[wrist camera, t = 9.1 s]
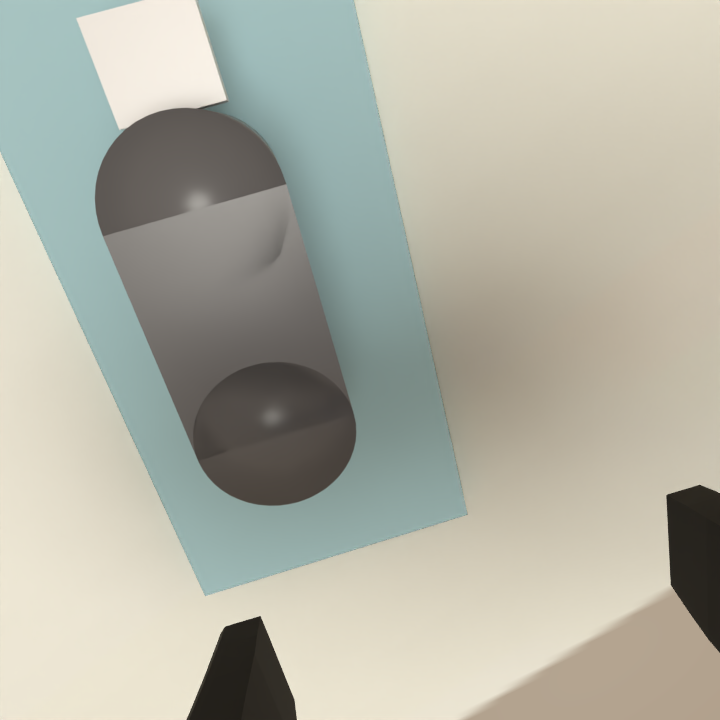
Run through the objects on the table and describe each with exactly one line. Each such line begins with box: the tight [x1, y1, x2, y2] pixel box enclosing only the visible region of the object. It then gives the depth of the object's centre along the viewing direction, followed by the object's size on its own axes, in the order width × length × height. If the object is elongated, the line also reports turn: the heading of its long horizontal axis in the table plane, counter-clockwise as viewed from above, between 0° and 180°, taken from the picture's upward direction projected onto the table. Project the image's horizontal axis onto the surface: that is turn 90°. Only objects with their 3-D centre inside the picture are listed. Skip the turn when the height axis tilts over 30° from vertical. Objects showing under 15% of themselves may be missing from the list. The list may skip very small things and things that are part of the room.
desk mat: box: [0, 0, 468, 596], centre depth 17 cm, size 9×19×1 cm, turn 15°
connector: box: [76, 0, 356, 506], centre depth 14 cm, size 4×10×4 cm, turn 15°
